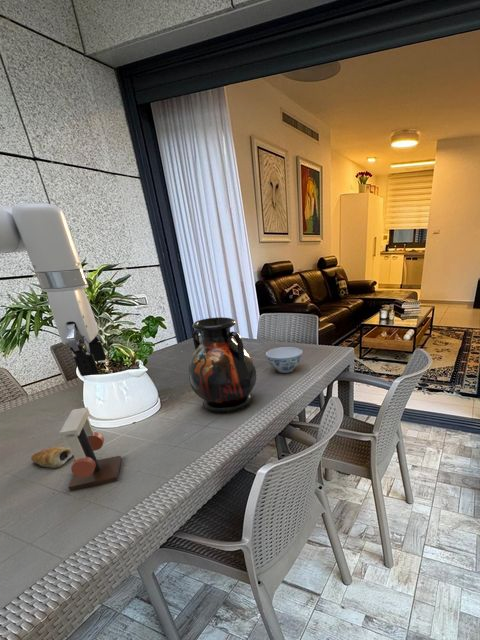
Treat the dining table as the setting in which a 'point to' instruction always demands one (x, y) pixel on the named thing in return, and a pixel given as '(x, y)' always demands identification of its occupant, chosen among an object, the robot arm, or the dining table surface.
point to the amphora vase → (221, 366)
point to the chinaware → (284, 358)
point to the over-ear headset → (70, 431)
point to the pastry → (52, 457)
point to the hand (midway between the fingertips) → (94, 367)
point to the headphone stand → (103, 470)
